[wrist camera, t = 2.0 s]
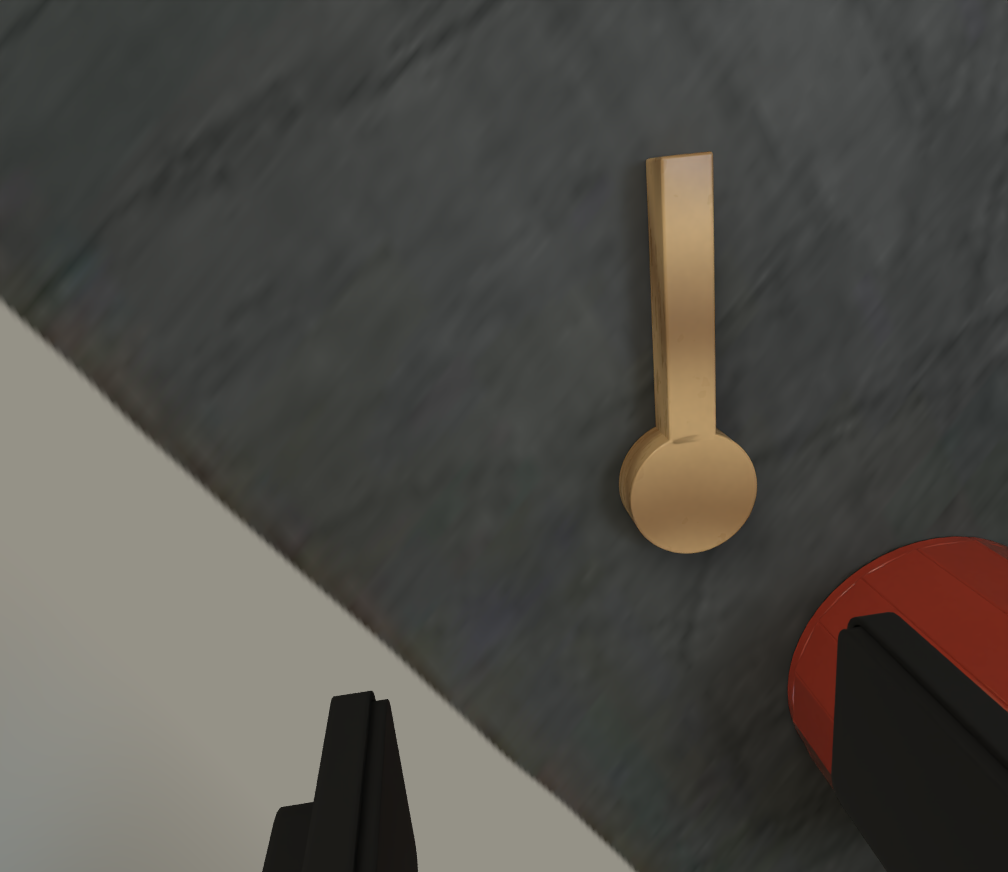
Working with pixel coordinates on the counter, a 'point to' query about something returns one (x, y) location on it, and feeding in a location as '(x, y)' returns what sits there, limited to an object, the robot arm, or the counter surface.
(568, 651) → the counter surface
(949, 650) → the pot
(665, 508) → the spoon
